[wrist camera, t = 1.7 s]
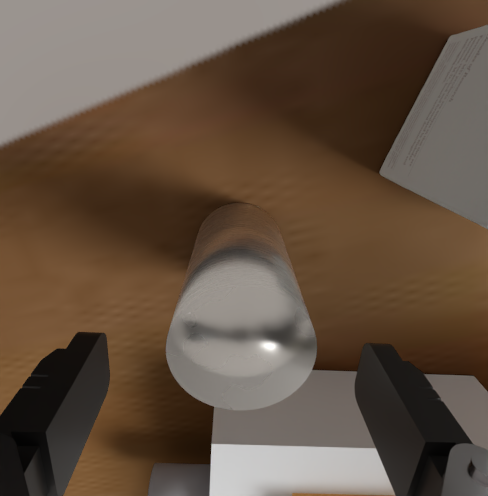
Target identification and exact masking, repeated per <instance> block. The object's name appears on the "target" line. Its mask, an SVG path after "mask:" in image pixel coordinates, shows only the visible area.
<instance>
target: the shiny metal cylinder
mask: <svg viewBox="0 0 488 496" xmlns="http://www.w3.org/2000/svg"><path fill="white" fill-rule="evenodd" d="M316 354H317V340H316V336H315V332H314V329H313V326H312V323H311V320H310V317H309V314H308V311H307V308H306V305H305V302H304V300H303V297H302V294H301V291H300V288H299V285H298V282H297V279H296V276H295V273H294V270H293V268H292V265H291V262H290V259H289V256H288V253H287V250H286V247H285V244H284V241H283V238H282V236H281V233H280V230H279V227H278V225H277V224H276V222H275V220H274V219H273V218H272V217H271V216H270V215H269V214H268V213H267V212H266V211H264V210H263V209H261V208H259V207H257V206H254V205H251V204H247V203H232V204H228V205H224V206H222V207H219V208H218V209H216V210H214V211H213V212H212V213H210V214H209V215H208V216H207V217H206V219H205V220H204V221H203V223H202V225H201V226H200V229H199V232H198V235H197V238H196V242H195V245H194V248H193V252H192V255H191V258H190V262H189V265H188V269H187V272H186V275H185V279H184V282H183V285H182V289H181V292H180V295H179V299H178V302H177V306H176V309H175V312H174V316H173V319H172V322H171V326H170V329H169V332H168V337H167V341H166V357H167V362H168V365H169V368H170V370H171V373H172V375H173V376H174V378H175V379H176V381H177V382H178V383H179V384H180V386H181V387H182V388H183V389H184V390H185V391H186V392H188V393H189V394H190V395H192V396H193V397H194V398H196V399H198V400H200V401H201V402H204V403H206V404H208V405H211V406H214V407H217V408H222V409H227V410H254V409H259V408H264V407H267V406H270V405H273V404H275V403H277V402H280V401H282V400H283V399H285V398H287V397H288V396H290V395H291V394H292V393H294V392H295V391H296V390H297V389H298V388H299V387H300V386H301V385H302V384H303V383H304V382H305V380H306V379H307V378H308V376H309V374H310V373H311V371H312V368H313V366H314V363H315V359H316Z"/></svg>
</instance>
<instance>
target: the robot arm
mask: <svg viewBox="0 0 488 496" xmlns="http://www.w3.org/2000/svg"><path fill="white" fill-rule="evenodd" d="M109 380H110V370H109V359H108V348H107V338H106V335H105V333H93V332H78V333H77V334H76V335H75V336H74V338H73V339H72V341H71V342H70V344H69V345H68V347H67V348H66V349H56V350H55V351H53V352H52V353H50V354H49V355H48V356H46V357H45V358H43V359H42V360H41V361H40V363H39V364H38V365H37V367H36V368H35V369H34V371H33V372H32V373H31V377H28V379H27V380H26V382H25V383H24V384H23V387H22V388H20V390H19V391H18V392H17V394H16V395H15V396H14V398H13V399H12V400H11V402H10V403H9V405H8V406H7V407H6V409H5V410H4V411H3V413H2V414H1V415H0V496H63V495H64V492H65V490H66V488H67V485H68V483H69V481H70V478H71V476H72V474H73V471H74V469H75V467H76V464H77V462H78V460H79V457H80V455H81V453H82V450H83V448H84V446H85V443H86V441H87V439H88V436H89V434H90V432H91V429H92V427H93V425H94V422H95V420H96V418H97V415H98V413H99V411H100V408H101V406H102V404H103V401H104V399H105V397H106V394H107V391H108V387H109ZM354 389H355V398H356V401H357V404H358V407H359V409H360V411H361V414H362V416H363V419H364V421H365V423H366V426H367V428H368V431H369V433H370V435H371V438H372V440H373V443H374V445H375V447H376V450H377V452H378V455H379V457H380V459H381V462H382V464H383V466H384V469H385V471H386V474H387V476H388V478H389V481H390V483H391V486H392V488H393V490H394V493H395V495H396V496H488V450H487V449H485V448H482V447H480V446H477V445H474V444H473V443H472V441H471V440H470V439H469V437H468V436H467V434H466V433H465V431H464V430H463V429H462V427H461V426H460V424H459V423H458V422H457V420H456V419H455V417H454V416H453V415H452V413H451V412H450V410H449V409H448V407H447V406H446V405H445V403H444V402H443V401H441V398H440V396H439V395H438V393H437V392H436V391H435V390H433V386H432V385H431V383H430V382H429V381H428V379H427V378H426V376H425V375H424V374H423V373H422V372H421V371H420V370H419V369H417V368H416V367H415V366H414V365H412V364H411V363H410V362H409V361H402V359H401V358H400V356H399V355H398V353H397V352H396V350H395V349H394V347H393V346H392V345H390V344H373V343H366V344H365V345H364V346H363V349H362V353H361V357H360V362H359V366H358V370H357V375H356V379H355V387H354Z"/></svg>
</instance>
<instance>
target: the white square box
mask: <svg viewBox="0 0 488 496" xmlns="http://www.w3.org/2000/svg"><path fill="white" fill-rule="evenodd" d="M356 375H357V372H355V371H328V370H312V371H311V373H310V374H309V376H308V378H307V379H306V380H305V382H304V383H303V384H302V385H301V386H300V387H299V388H298V389H297V390H296V391H295V392H294V393H292V394H291V395H290V396H288V397H287V398H285V399H283V400H282V401H280V402H277V403H275V404H273V405H270V406H267V407H264V408H259V409H254V410H227V409H222V408H217V407H214V416H213V430H212V444H211V464H179V463H155V464H154V466H153V469H152V473H151V478H150V484H149V490H148V496H396V495H395V493H394V490H393V488H392V486H391V483H390V481H389V478H388V476H387V474H386V471H385V469H384V466H383V464H382V462H381V459H380V457H379V455H378V452H377V450H376V447H375V445H374V443H373V440H372V438H371V435H370V433H369V431H368V428H367V426H366V423H365V421H364V419H363V416H362V414H361V411H360V409H359V407H358V404H357V401H356V398H355V389H354V387H355V379H356ZM424 375H425V376H426V378H427V379H428V381H429V382H430V383H431V385H432V386H433V390H435V391H436V392H437V393H438V395H439V396H440V398H441V401H443V402H444V403H445V405H446V406H447V407H448V409H449V410H450V412H451V413H452V415H453V416H454V417H455V419H456V420H457V422H458V423H459V424H460V426H461V427H462V429H463V430H464V431H465V433H466V434H467V436H468V437H469V439H470V440H471V441H472V443H473V444H474V445H477V446H480V447H482V448H485V449H487V450H488V392H487V390H486V389H485V388H484V387H483V386H482V385H481V383H480V382H479V381H478V380H477V379H476V378H475V377H474V376H465V375H437V374H424Z"/></svg>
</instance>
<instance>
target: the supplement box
mask: <svg viewBox="0 0 488 496" xmlns="http://www.w3.org/2000/svg"><path fill="white" fill-rule="evenodd" d="M379 173H380V175H381V176H383V177H385V178H387V179H389V180H390V181H392V182H394V183H396V184H398V185H400V186H402V187H404V188H406V189H408V190H410V191H412V192H414V193H416V194H418V195H420V196H422V197H424V198H426V199H428V200H430V201H432V202H434V203H436V204H438V205H440V206H442V207H444V208H446V209H448V210H451V211H453V212H455V213H457V214H459V215H461V216H463V217H465V218H467V219H469V220H471V221H473V222H475V223H477V224H479V225H481V226H483V227H485V228H487V229H488V25H485V26H482V27H479V28H475V29H472V30H469V31H465V32H462V33H459V34H455V35H451V36H450V37H449V39H448V41H447V43H446V44H445V46H444V48H443V50H442V52H441V54H440V56H439V58H438V59H437V61H436V63H435V65H434V67H433V69H432V71H431V73H430V75H429V77H428V78H427V80H426V82H425V84H424V86H423V88H422V90H421V91H420V93H419V95H418V97H417V99H416V101H415V103H414V105H413V107H412V109H411V111H410V113H409V114H408V116H407V118H406V120H405V122H404V124H403V126H402V128H401V130H400V132H399V134H398V136H397V137H396V139H395V141H394V143H393V145H392V147H391V149H390V151H389V153H388V155H387V157H386V159H385V161H384V163H383V165H382V167H381V169H380V172H379Z"/></svg>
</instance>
